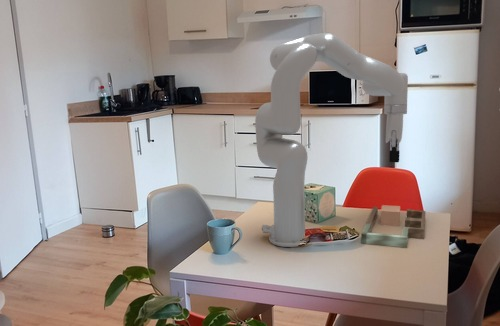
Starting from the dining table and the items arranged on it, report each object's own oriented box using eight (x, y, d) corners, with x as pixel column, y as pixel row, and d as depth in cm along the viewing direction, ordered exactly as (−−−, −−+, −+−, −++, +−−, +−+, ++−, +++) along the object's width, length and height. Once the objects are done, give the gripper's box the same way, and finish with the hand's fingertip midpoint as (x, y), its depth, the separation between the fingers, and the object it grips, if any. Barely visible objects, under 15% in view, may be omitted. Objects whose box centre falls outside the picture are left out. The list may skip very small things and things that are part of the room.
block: (380, 225, 163) (381, 210, 162) (381, 219, 170) (381, 205, 169) (399, 226, 161) (400, 212, 160) (399, 220, 168) (400, 206, 167)
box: (361, 243, 147) (361, 233, 146) (373, 214, 174) (373, 206, 174) (422, 249, 141) (423, 239, 140) (425, 218, 168) (425, 210, 167)
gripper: (386, 107, 176) (385, 157, 179) (382, 111, 162) (381, 165, 166) (408, 107, 173) (406, 158, 177) (405, 111, 159) (404, 166, 163)
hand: (394, 161), depth 171 cm, fingers closed
